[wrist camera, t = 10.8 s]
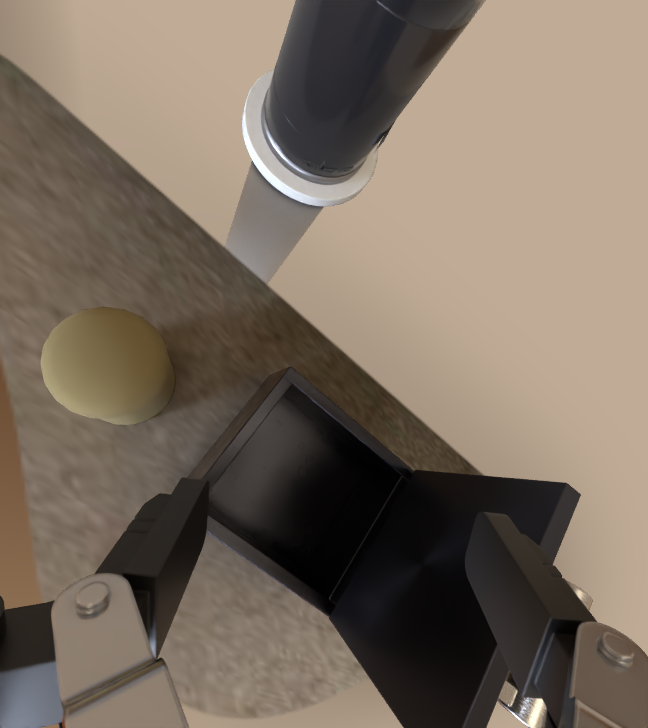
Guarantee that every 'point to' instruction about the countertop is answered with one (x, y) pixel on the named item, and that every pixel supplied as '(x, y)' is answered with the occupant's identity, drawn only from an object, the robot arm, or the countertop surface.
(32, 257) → the countertop surface
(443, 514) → the warmer lid
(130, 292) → the countertop surface
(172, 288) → the countertop surface
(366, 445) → the box
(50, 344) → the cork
